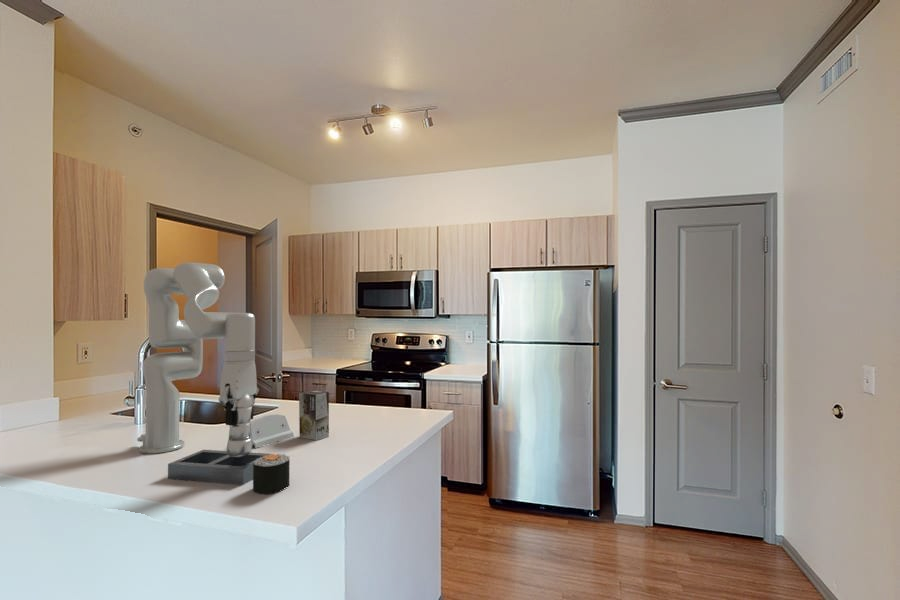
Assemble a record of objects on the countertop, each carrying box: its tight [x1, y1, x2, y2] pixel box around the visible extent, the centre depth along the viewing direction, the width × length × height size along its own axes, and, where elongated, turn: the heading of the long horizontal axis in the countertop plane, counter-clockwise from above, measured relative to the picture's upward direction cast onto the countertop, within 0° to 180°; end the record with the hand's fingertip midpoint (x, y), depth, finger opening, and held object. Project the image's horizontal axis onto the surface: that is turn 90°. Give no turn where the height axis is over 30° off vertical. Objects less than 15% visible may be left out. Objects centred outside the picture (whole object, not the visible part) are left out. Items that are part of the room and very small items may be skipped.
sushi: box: [252, 453, 291, 495], centre depth 115 cm, size 8×8×8 cm
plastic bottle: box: [226, 394, 254, 457], centre depth 125 cm, size 6×7×20 cm
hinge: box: [250, 414, 295, 448], centre depth 157 cm, size 17×5×10 cm, turn 151°
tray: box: [167, 449, 271, 485], centre depth 126 cm, size 23×13×4 cm, turn 79°
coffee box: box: [298, 389, 330, 441], centre depth 163 cm, size 9×6×16 cm
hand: (239, 421), depth 125 cm, fingers closed on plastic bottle, 6 cm apart
